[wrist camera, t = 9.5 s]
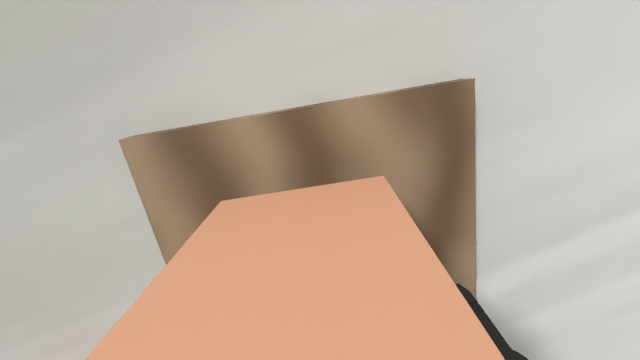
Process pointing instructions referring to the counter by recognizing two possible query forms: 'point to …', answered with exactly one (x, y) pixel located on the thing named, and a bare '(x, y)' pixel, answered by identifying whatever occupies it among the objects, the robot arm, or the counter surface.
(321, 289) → the peach bevelled cube
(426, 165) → the wooden base with block
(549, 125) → the counter surface
